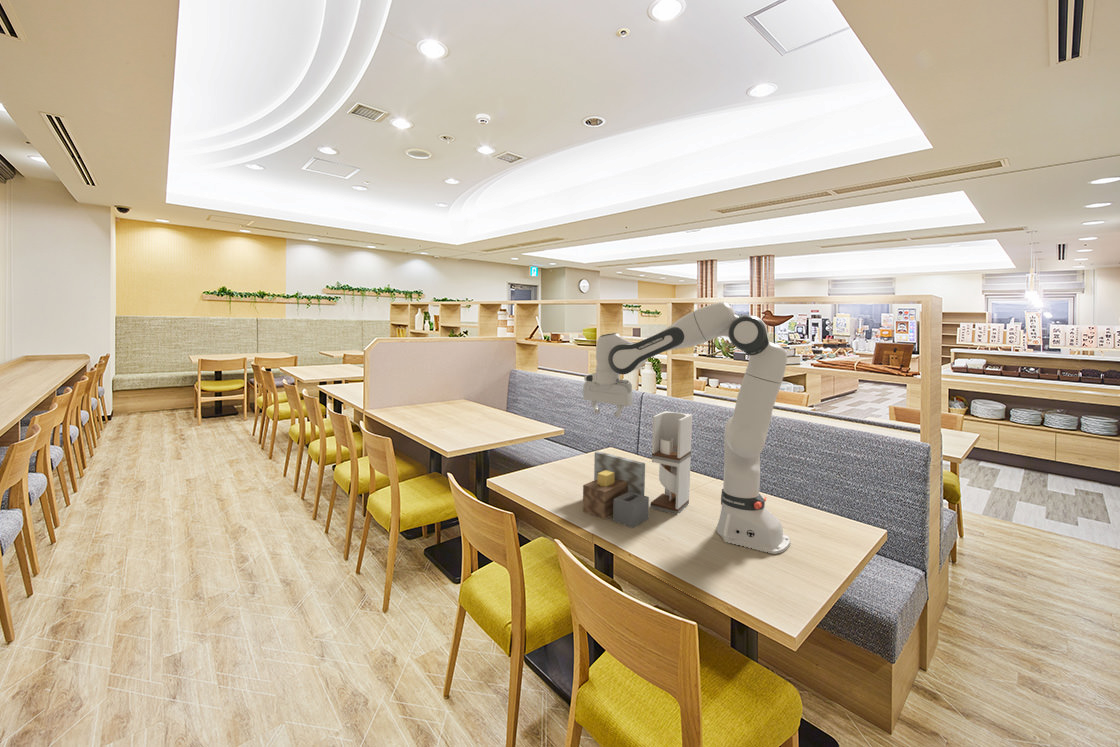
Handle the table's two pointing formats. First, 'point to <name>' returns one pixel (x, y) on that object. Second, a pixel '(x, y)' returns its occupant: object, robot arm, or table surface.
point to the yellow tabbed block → (605, 478)
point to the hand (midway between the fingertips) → (606, 415)
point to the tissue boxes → (625, 480)
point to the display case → (672, 459)
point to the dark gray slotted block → (630, 509)
